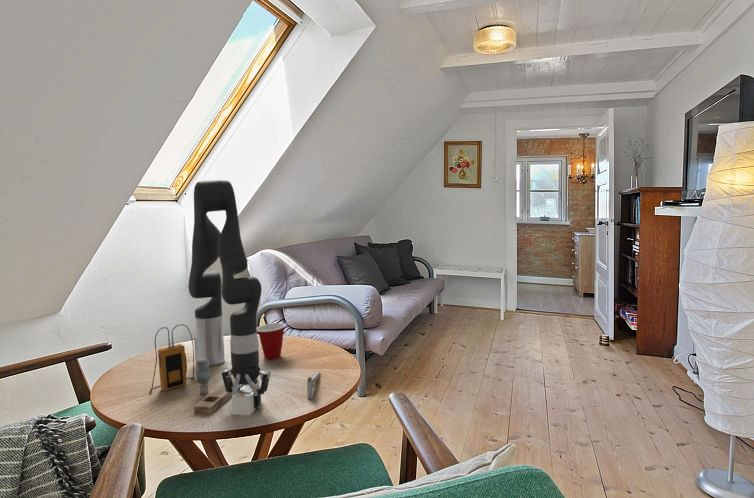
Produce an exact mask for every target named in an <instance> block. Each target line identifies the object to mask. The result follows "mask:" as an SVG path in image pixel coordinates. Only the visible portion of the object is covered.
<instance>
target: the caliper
mask: <svg viewBox="0 0 754 498" xmlns="http://www.w3.org/2000/svg"><path fill="white" fill-rule="evenodd" d="M320 375H321V372H320V371H316V372H315V373H314V375H313V376H309V377H307V389H306V390H307V391H306V392H307V399H309V400H312V397H313V389H314V387H315V384H316V383H317V381H318V380H319V378H320Z"/></svg>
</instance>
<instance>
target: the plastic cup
mask: <svg viewBox="0 0 754 498" xmlns="http://www.w3.org/2000/svg"><path fill="white" fill-rule="evenodd" d="M285 327H286V324H285V323H282V322H274V323H273V322H272V323H267V324H263V325H260V326H257V335H258V338H259V340H260V345H261V349H262V352H263V356H264V359H265V360H268V361H269V360H271V361H273V360H276V359H279V358H280V357H281V354H282V348H283V341H284V333H285Z"/></svg>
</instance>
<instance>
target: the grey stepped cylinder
mask: <svg viewBox="0 0 754 498" xmlns="http://www.w3.org/2000/svg"><path fill="white" fill-rule="evenodd" d="M195 368H196V370H195V371H196V372H195V373H196V382H197V383H198V384H199V395H202V396H203V395H204V396H205V395H209V384H208V383H209V382H210V380H211V379H210V366H209V361H208V360H207V359H206V358H202V359H198V360H197V362H196V363H195Z"/></svg>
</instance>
